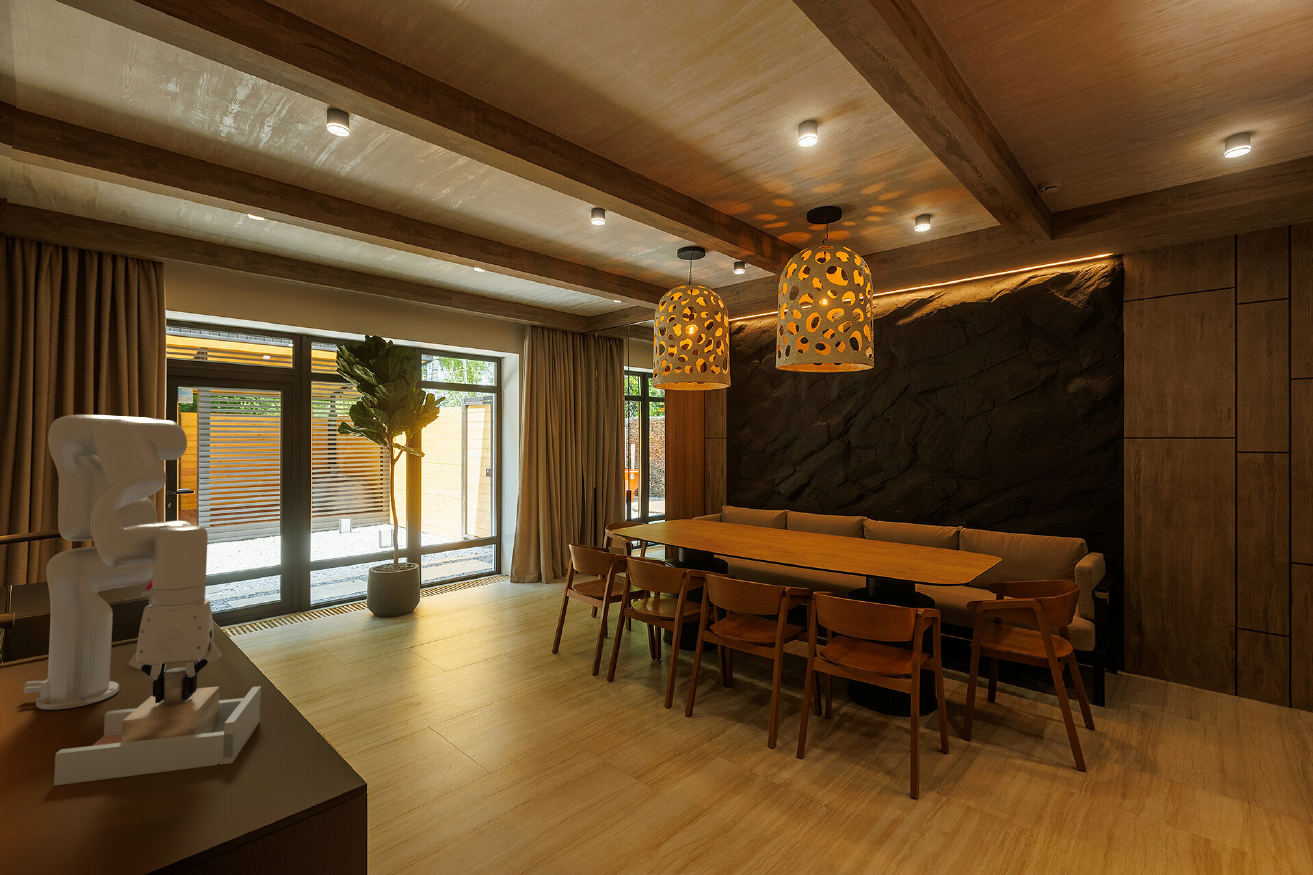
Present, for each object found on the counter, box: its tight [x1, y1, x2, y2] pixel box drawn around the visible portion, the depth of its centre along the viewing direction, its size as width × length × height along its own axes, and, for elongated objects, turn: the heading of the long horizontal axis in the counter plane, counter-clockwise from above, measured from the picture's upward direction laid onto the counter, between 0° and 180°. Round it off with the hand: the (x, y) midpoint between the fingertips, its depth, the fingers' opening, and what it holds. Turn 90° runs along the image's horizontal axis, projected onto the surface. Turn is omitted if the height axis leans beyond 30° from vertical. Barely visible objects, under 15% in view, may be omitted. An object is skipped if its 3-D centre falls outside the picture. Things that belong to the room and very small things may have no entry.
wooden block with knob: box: [122, 667, 220, 743], centre depth 107 cm, size 10×12×13 cm
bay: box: [53, 685, 262, 786], centre depth 106 cm, size 24×16×7 cm, turn 110°
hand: (174, 697), depth 107 cm, fingers closed on wooden block with knob, 3 cm apart
